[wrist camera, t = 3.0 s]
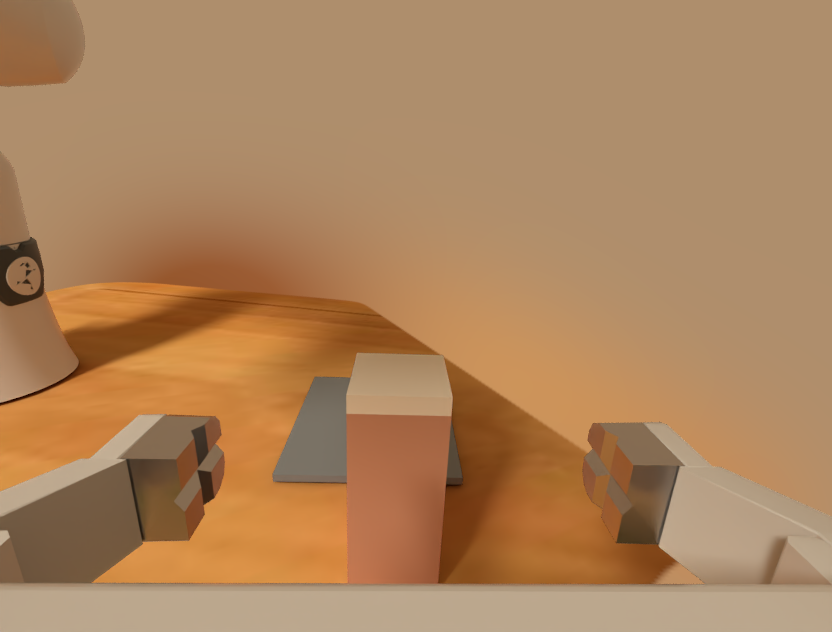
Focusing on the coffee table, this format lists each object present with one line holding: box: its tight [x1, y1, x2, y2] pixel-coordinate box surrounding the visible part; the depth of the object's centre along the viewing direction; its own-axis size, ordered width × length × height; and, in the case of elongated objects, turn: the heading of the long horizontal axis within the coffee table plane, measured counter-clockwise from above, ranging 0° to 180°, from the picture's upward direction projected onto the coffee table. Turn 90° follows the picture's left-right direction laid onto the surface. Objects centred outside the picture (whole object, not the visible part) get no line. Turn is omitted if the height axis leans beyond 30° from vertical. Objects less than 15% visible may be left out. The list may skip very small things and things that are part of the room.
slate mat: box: [273, 377, 463, 485], centre depth 39 cm, size 14×16×1 cm
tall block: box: [346, 353, 453, 584], centre depth 24 cm, size 5×5×12 cm
